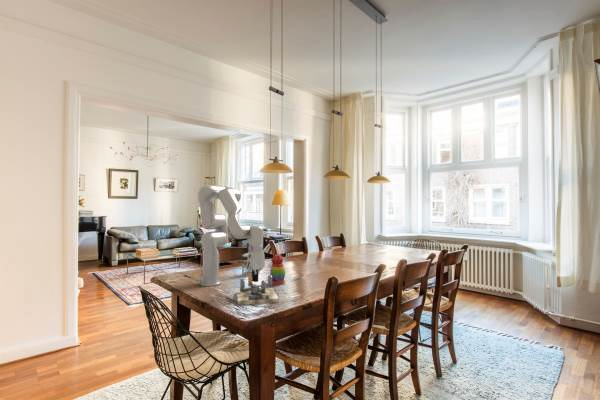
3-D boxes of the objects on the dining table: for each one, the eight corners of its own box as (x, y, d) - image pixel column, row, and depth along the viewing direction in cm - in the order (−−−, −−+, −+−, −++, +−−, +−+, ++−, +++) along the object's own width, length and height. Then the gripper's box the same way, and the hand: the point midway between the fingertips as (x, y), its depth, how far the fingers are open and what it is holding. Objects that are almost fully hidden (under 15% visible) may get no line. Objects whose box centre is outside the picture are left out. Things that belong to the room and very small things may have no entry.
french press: (240, 273, 223) (241, 238, 223) (257, 273, 224) (258, 238, 224) (239, 277, 213) (240, 239, 213) (257, 277, 214) (258, 239, 214)
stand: (237, 305, 155) (237, 297, 155) (235, 293, 175) (235, 286, 175) (278, 302, 160) (279, 295, 160) (272, 291, 180) (272, 284, 180)
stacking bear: (269, 280, 204) (270, 252, 205) (285, 281, 204) (286, 253, 204) (267, 285, 194) (268, 255, 194) (284, 285, 193) (284, 256, 193)
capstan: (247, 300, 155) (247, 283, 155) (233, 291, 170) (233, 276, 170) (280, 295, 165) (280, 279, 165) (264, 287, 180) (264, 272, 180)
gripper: (251, 250, 169) (250, 285, 169) (270, 247, 181) (269, 280, 181) (241, 249, 174) (240, 282, 174) (260, 246, 186) (259, 277, 186)
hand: (255, 281), depth 177 cm, fingers closed
